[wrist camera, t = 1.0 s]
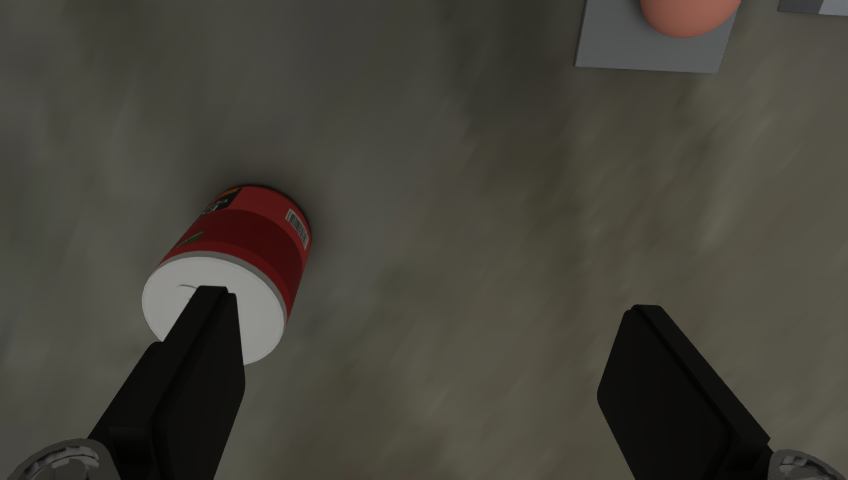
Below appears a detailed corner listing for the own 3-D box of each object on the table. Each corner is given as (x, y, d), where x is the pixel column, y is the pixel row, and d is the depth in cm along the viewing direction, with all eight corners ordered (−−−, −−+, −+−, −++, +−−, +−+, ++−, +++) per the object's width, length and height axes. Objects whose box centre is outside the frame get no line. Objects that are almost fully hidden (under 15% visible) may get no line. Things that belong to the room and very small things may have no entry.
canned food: (223, 165, 35) (158, 234, 25) (328, 209, 37) (305, 290, 27) (194, 249, 38) (125, 341, 28) (293, 286, 40) (260, 384, 30)
